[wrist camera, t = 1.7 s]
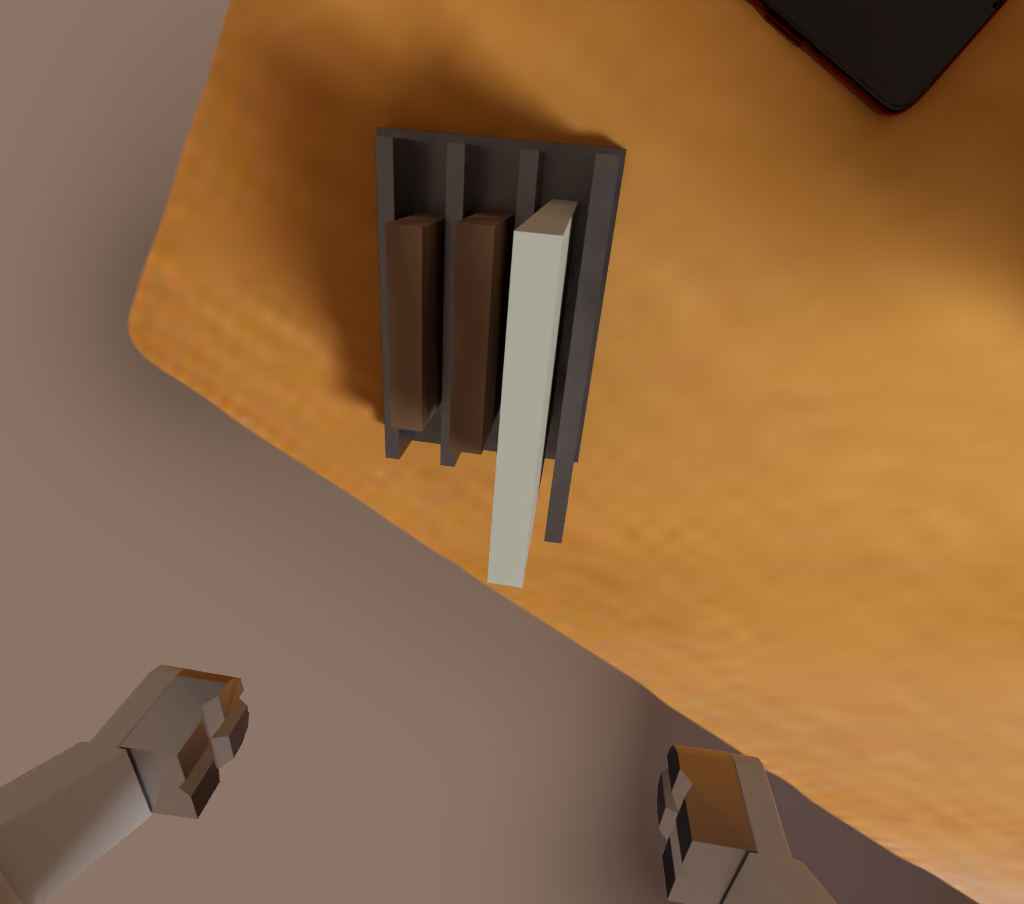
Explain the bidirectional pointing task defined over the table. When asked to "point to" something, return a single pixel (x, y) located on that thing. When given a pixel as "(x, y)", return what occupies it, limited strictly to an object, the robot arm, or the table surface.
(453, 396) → the block
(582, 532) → the table surface
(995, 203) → the table surface
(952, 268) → the table surface
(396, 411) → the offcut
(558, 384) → the rack
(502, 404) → the white thin panel
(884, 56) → the smartphone
